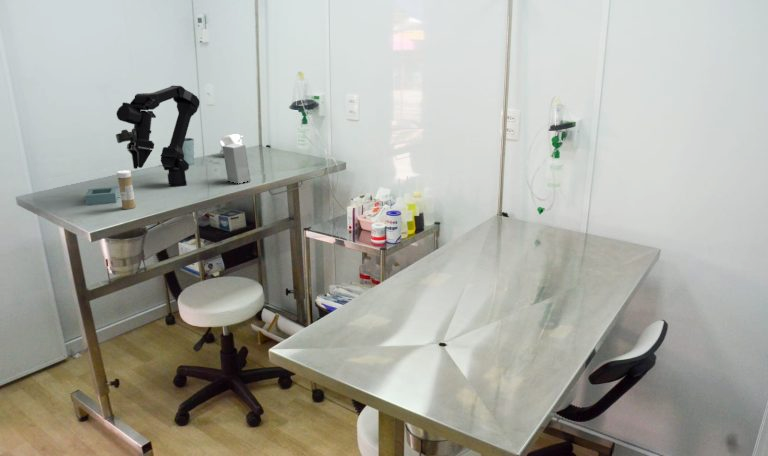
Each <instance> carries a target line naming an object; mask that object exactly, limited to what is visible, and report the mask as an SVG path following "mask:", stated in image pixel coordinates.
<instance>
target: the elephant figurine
mask: <svg viewBox="0 0 768 456" xmlns="http://www.w3.org/2000/svg"><path fill="white" fill-rule="evenodd" d="M243 138H244V135H241V134H238V133H233V134H227V135H225V136H223V137H222V138H220V140H219V145H220V148H221V149H220V151H219V154H223V156H224V152H223V146H225V145H230V144H240V145H243Z"/></svg>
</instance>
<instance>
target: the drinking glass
mask: <svg viewBox="0 0 768 456" xmlns="http://www.w3.org/2000/svg"><path fill="white" fill-rule="evenodd" d="M194 140H195V139H194V138H192V137H185V140H184V144H183V147H182V150H183V153H184V160H185V161H186V162H187V163H188V164H189V166H193V165H195V158H194V157H195V150H194V149H195V147H194V146H195V141H194Z"/></svg>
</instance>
